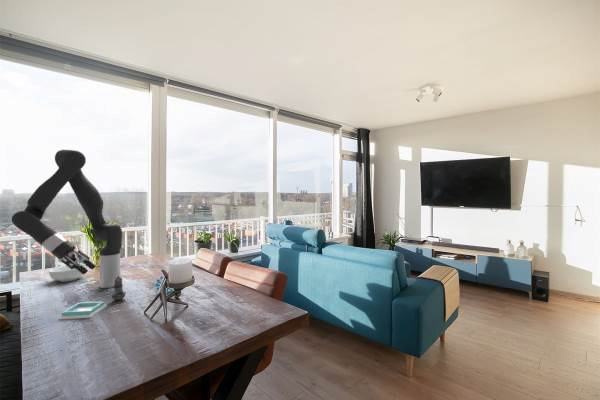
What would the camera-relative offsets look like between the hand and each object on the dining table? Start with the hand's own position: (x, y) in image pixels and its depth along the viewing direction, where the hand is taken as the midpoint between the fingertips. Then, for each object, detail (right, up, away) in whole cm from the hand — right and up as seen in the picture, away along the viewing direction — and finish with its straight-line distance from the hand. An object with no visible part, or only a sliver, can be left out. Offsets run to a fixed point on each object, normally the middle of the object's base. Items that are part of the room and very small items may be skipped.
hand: (90, 270), depth 127 cm
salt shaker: (+11, -15, +4) cm, 19 cm away
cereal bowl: (-40, -15, +37) cm, 57 cm away
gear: (+27, -15, +17) cm, 35 cm away
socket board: (+4, -15, -9) cm, 18 cm away
